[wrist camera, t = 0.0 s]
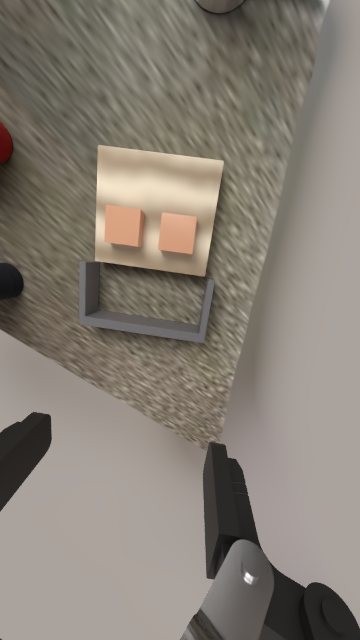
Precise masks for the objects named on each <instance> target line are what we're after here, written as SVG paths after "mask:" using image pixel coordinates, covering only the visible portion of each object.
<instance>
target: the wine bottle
mask: <svg viewBox="0 0 360 640" xmlns="http://www.w3.org/2000/svg"><path fill="white" fill-rule="evenodd" d="M22 289H23V278H22V276H21V274H20V272H19V271H18V270H17V269H16V268H15V267H14V266H12V265H10V264H8V263H0V300H2V299H7V298H12V297H15V296H17V295H19V294H20V293H21V291H22Z"/></svg>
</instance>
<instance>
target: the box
mask: <svg viewBox="0 0 360 640" xmlns="http://www.w3.org/2000/svg"><path fill="white" fill-rule="evenodd" d="M99 274H100V262H95V261H79V324H81V325H88V326H94V327H101V328H107V329H114V330H120V331H127V332H133V333H140V334H146V335H153V336H159V337H166V338H172V339H179V340H185V341H192V342H199V343H204V339H205V334H206V328H207V322H208V317H209V311H210V306H211V300H212V295H213V289H214V283H215V280H213V279H212V278H206V284H205V290H204V296H203V302H202V308H201V314H200V320H199V325H195V324H188V323H182V322H175V321H169V320H162V319H155V318H149V317H142V316H136V315H129V314H122V313H116V312H109V311H102V310H98V304H99Z"/></svg>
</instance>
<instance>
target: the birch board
mask: <svg viewBox="0 0 360 640" xmlns="http://www.w3.org/2000/svg"><path fill="white" fill-rule="evenodd" d="M223 164H224V161H220V160H213V159H205V158H197V157H189V156H181V155H173V154H165V153H158V152H150V151H142V150H134V149H126V148H118V147H110V146H103V145H98V166H97V203H96V240H95V261H100V262H107V263H114V264H121V265H128V266H135V267H142V268H149V269H156V270H163V271H169V272H176V273H183V274H190V275H197V276H204V277H205V273H206V267H207V261H208V255H209V249H210V243H211V236H212V230H213V224H214V218H215V212H216V206H217V200H218V194H219V188H220V182H221V176H222V170H223ZM106 205H113V206H120V207H128V208H135V209H141V210H142V211H143V212H144V213H145V217H144V229H143V241H142V248H139V247H132V246H125V245H118V244H111V243H107V242H104V238H105V212H106ZM162 212H164V213H172V214H179V215H187V216H194V217H197V226H196V232H195V239H194V246H193V253H192V255H189V254H182V253H175V252H168V251H161V250H158V245H159V235H160V226H161V216H162Z"/></svg>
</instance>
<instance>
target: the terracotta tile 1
mask: <svg viewBox="0 0 360 640" xmlns="http://www.w3.org/2000/svg"><path fill="white" fill-rule="evenodd" d="M144 217H145V213H144V212H143V211H142V210H141V209H135V208H128V207H120V206H113V205H106V212H105V238H104V242H107V243H111V244H118V245H125V246H132V247H139V248H142V241H143V229H144Z"/></svg>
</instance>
